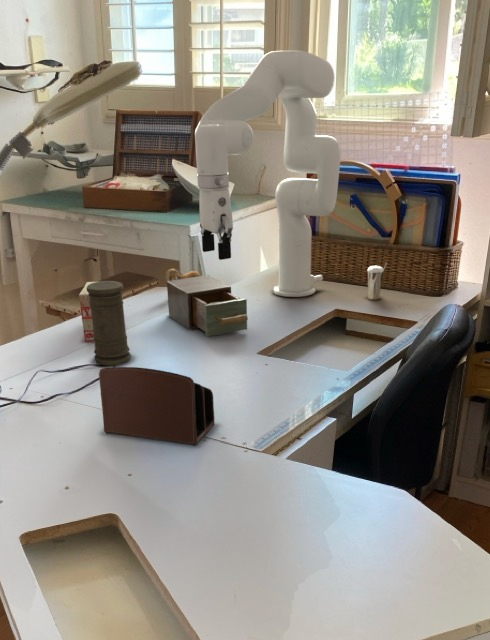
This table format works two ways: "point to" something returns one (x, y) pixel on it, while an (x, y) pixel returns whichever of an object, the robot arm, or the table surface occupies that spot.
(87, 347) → the table surface
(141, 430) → the letter holder
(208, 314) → the drawer
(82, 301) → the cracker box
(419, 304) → the table surface
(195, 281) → the cabinet
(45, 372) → the table surface
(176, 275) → the lion figurine
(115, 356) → the container
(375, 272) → the milkshake
